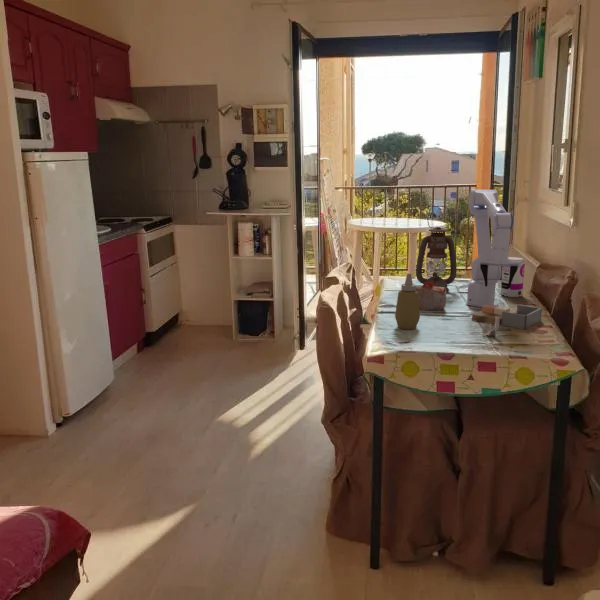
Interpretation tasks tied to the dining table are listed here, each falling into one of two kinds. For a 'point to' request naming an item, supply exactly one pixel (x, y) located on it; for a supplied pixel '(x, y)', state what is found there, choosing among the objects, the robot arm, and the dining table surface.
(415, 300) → the squeeze bottle
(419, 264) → the lantern
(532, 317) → the box
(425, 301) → the food item
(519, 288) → the supplement can
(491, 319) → the walnut plate
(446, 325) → the dining table surface
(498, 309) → the tile cream
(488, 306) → the tile terracotta
